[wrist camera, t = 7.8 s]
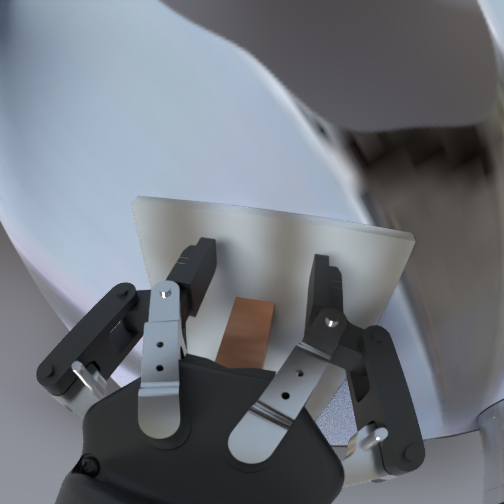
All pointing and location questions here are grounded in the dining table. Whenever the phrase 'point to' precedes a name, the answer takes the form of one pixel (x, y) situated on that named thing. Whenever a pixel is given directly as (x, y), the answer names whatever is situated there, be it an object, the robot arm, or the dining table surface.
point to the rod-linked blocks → (246, 334)
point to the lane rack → (272, 270)
